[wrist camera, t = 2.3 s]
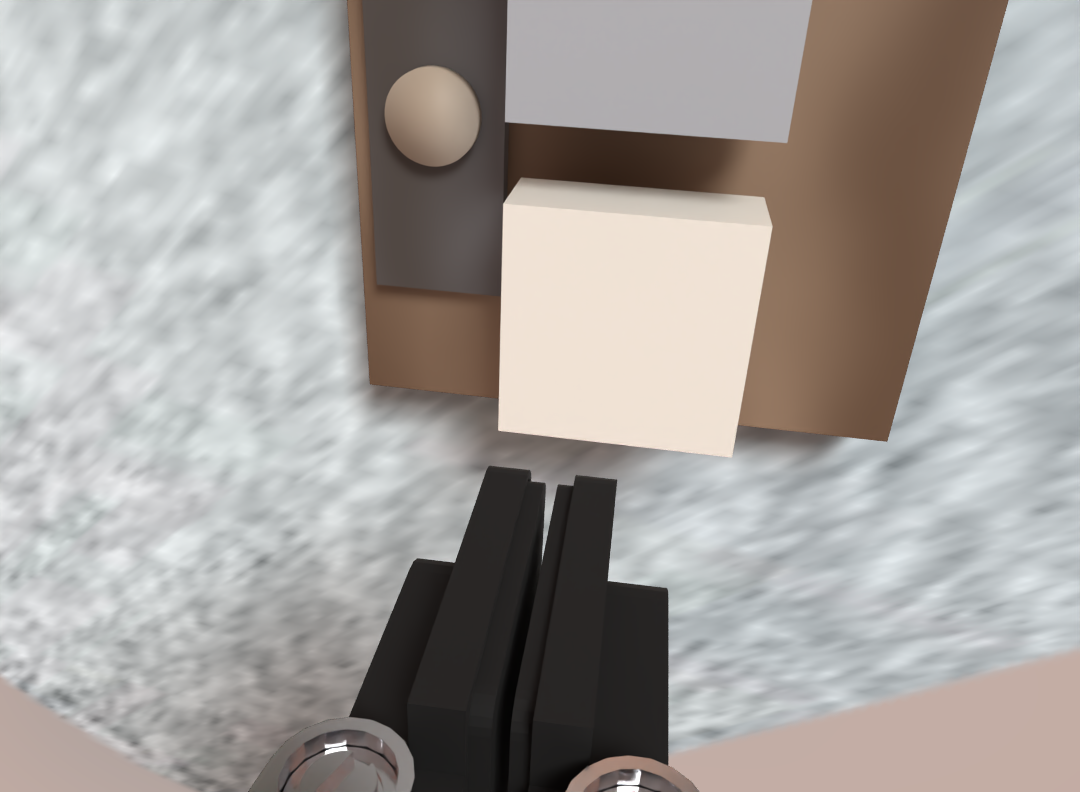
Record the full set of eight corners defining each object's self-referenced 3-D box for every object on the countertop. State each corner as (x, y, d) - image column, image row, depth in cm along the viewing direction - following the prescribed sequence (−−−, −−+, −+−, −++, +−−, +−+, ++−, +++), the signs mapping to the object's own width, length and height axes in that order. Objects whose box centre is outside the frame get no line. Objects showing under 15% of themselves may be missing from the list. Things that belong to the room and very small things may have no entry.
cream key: (764, 197, 18) (772, 226, 16) (727, 411, 20) (731, 457, 18) (521, 176, 18) (503, 203, 16) (514, 387, 20) (498, 430, 19)
